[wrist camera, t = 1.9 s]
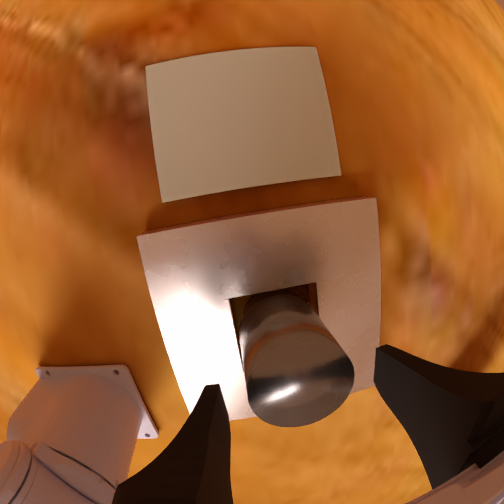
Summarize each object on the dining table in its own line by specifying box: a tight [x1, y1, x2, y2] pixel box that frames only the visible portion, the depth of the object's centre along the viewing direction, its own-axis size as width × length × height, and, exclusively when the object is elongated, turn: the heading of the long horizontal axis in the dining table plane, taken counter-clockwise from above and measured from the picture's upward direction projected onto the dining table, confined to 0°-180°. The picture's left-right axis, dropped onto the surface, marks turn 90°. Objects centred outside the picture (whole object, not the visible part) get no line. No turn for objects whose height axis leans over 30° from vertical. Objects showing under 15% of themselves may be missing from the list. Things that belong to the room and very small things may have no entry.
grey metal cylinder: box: [239, 289, 355, 427], centre depth 15 cm, size 5×5×8 cm
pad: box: [145, 47, 342, 203], centre depth 16 cm, size 11×9×1 cm
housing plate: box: [136, 196, 381, 421], centre depth 18 cm, size 14×14×2 cm
